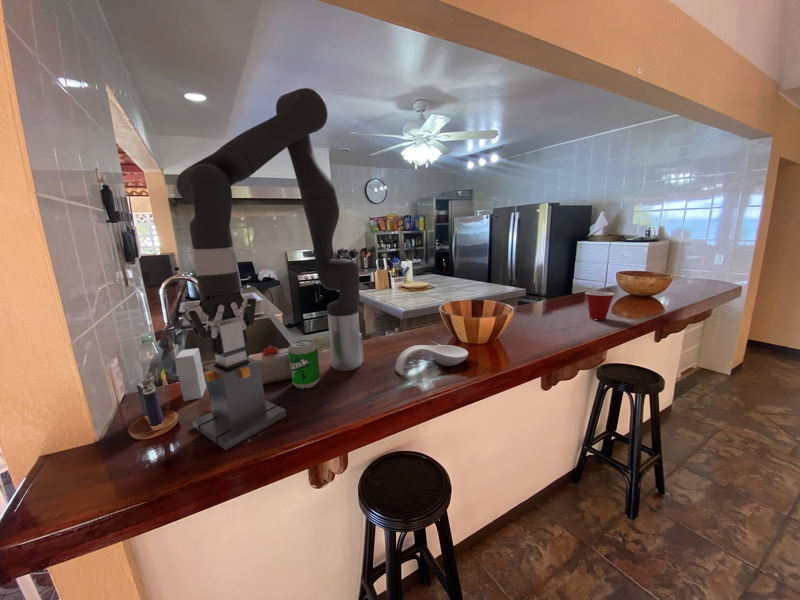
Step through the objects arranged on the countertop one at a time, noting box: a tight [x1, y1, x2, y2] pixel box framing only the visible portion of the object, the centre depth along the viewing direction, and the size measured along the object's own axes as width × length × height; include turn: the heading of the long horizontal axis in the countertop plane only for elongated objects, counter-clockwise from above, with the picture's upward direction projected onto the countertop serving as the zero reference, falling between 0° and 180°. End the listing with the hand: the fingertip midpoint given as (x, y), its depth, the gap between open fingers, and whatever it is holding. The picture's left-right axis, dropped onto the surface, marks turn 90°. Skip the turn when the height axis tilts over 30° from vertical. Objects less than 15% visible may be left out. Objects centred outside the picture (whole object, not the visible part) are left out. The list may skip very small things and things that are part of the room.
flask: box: [136, 377, 164, 427], centre depth 72 cm, size 9×3×11 cm, turn 48°
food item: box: [248, 344, 292, 385], centre depth 92 cm, size 14×8×10 cm, turn 114°
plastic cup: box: [585, 291, 616, 321], centre depth 139 cm, size 11×11×12 cm
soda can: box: [287, 339, 321, 390], centre depth 88 cm, size 8×8×12 cm
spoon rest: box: [394, 344, 469, 376], centre depth 98 cm, size 24×12×7 cm, turn 115°
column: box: [209, 315, 248, 372], centre depth 70 cm, size 5×5×24 cm
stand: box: [192, 356, 287, 451], centre depth 71 cm, size 14×14×14 cm
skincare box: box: [174, 347, 207, 402], centre depth 84 cm, size 6×4×12 cm
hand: (229, 349), depth 69 cm, fingers closed on column, 4 cm apart
